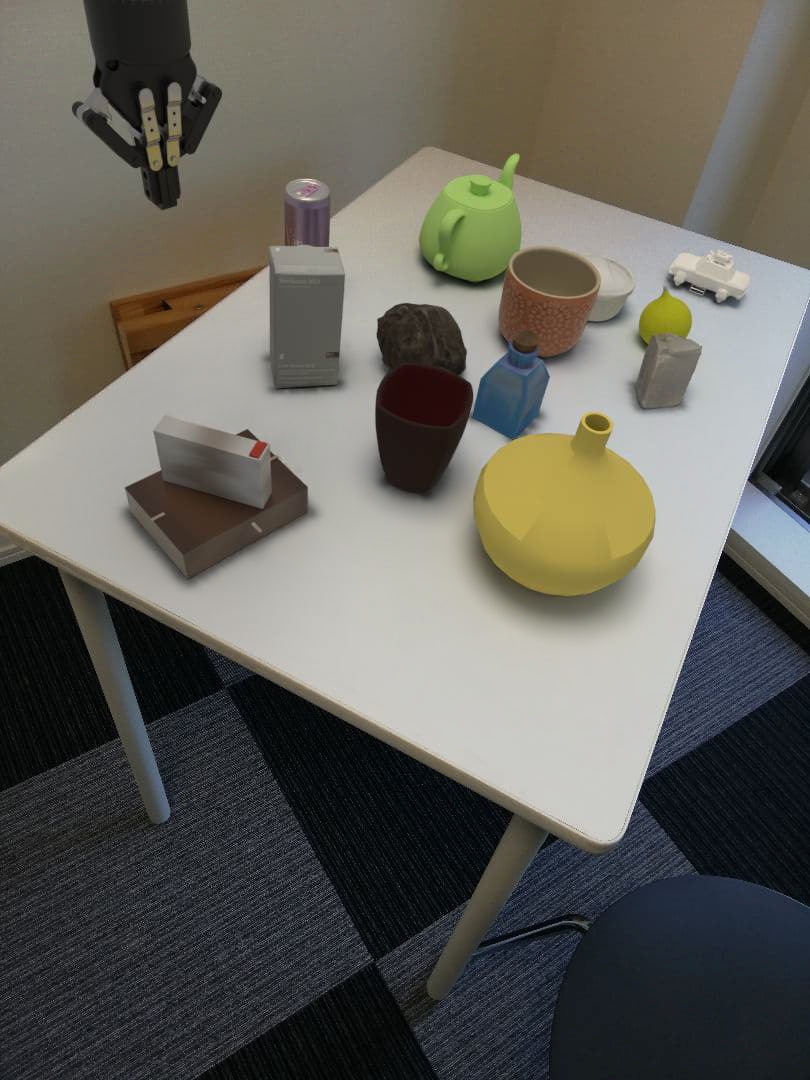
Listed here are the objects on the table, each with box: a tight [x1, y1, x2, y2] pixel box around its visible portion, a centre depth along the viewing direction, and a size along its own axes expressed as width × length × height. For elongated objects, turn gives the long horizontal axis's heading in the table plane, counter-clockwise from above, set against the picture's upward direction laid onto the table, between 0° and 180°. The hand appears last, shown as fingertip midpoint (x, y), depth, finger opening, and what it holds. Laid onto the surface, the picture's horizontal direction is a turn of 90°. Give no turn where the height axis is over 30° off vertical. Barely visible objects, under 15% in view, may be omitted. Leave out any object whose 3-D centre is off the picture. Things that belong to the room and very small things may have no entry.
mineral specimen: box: [634, 333, 703, 410], centre depth 101 cm, size 7×9×8 cm
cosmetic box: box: [268, 245, 346, 389], centre depth 93 cm, size 8×7×16 cm
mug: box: [374, 363, 474, 494], centre depth 86 cm, size 10×14×12 cm
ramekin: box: [577, 252, 636, 323], centre depth 113 cm, size 11×11×5 cm
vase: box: [472, 411, 656, 597], centre depth 76 cm, size 18×18×19 cm
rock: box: [376, 302, 468, 376], centre depth 98 cm, size 10×11×10 cm
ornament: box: [638, 280, 693, 345], centre depth 107 cm, size 7×7×10 cm
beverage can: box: [283, 178, 332, 247], centre depth 104 cm, size 6×6×15 cm
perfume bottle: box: [471, 329, 551, 441], centre depth 93 cm, size 6×6×12 cm
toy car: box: [667, 249, 751, 304], centre depth 119 cm, size 6×12×7 cm, turn 60°
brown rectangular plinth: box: [124, 428, 309, 580], centre depth 81 cm, size 15×15×4 cm
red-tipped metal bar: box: [152, 414, 272, 509], centre depth 77 cm, size 11×2×7 cm, turn 74°
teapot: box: [418, 153, 522, 283], centre depth 115 cm, size 22×15×13 cm
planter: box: [498, 245, 601, 358], centre depth 104 cm, size 12×12×11 cm
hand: (164, 204), depth 70 cm, fingers closed
